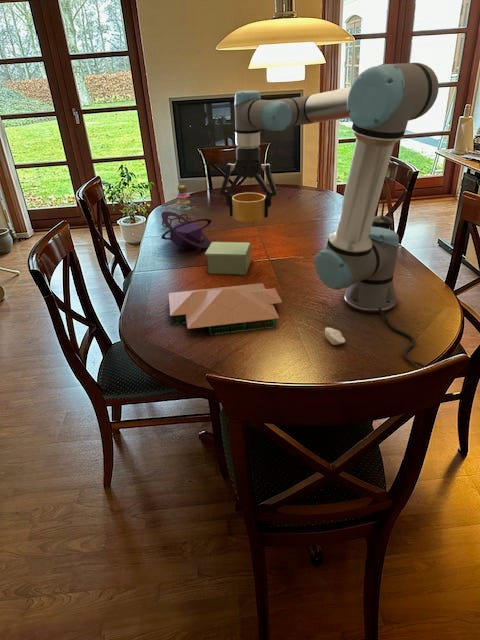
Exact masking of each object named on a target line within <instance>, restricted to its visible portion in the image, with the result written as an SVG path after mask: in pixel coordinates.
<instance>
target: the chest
mask: <svg viewBox="0 0 480 640" xmlns="http://www.w3.org/2000/svg"><path fill="white" fill-rule="evenodd" d="M206 258H207V269H208V274H214V275H215V274H217V275H218V274H219V275H220V274H221V275H244V276H245V275H247V273H248V270H249V267H250V265H251V261H252V259H251V258H252V257H251V245H250V246H249V249H248V251H247V254H246V257H237V256H207V257H206Z"/></svg>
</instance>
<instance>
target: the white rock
mask: <svg viewBox="0 0 480 640" xmlns="http://www.w3.org/2000/svg"><path fill="white" fill-rule="evenodd" d="M324 335H325V338H326V339H327V341H328V342H329V343H330V344H331V345H333V346H339V345H342V344H345V343H346V339H345V338H344V336H343V335H342V332H341V331H340V330H339V329H336V328H333V327H329V326H327V327H325V328H324Z"/></svg>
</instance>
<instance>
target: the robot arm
mask: <svg viewBox="0 0 480 640" xmlns="http://www.w3.org/2000/svg"><path fill="white" fill-rule="evenodd" d="M439 89H440V85H439V80H438V76H437V75H436V73H435V71H434V69H432V68H431V67H430V66H428V65H427V64H424V63H421V62H408V63H407V62H406V63H381V64H379V65H374V66H371V67H368V68H366V69H365V70H363V71H362V72H361V73H360V74H358V76H356V78H355V79H354V80H353V83H352V84H351V86H348V87H344V88H339V89H334V90H329V91H325V92H318V93H314V94H309V95H304V96H297V97H289V98H278V99H261V93H260V91H259V90H253V89H252V90H250V89H249V90H238V91H236V93H235V94H234V107H233V108H234V127H235V128H234V129H235V132H234V134H235V146H236V148H235V163H231V162H228V163H227V164H226V166H225V167H226V169H225V171H226V172H225V176H224V178H223V182H222V185H221V188H220V192H219V194H220V195H223V196H225V203H226V206H227V207H228V208H229V217H232V197H233V196H234V195H233V194H232V192H233V190H234V189H235V188H236V185H237V184H238V183H239V181H240V179H241V178H243V179H247V178H249V179H253V178H254V179H255V181H256V182H257V183H258V185H259V186H260V188H261V189H262V191H263V193H264V195H265V218H268V216H269V208H270V207H272V197H274V196H277V194H278V189H277V187H276V184H275V181H274V177H273V175H272V172H271V164H270V163H269V162H268V163H261V147H260V145H261V129H262V130H268V131H272V132H276V131H277V132H281V131H284V130H286V129H287V128H289V127H294V126H303V125H310V124H316V123H317V124H318V123H324V122H331V121H339V120H346V119H350V121H351V122H352V126H351V131H352V133H353V134H354V136H355V138H356V139H355V143H354V148H353V153H352V157H351V161H350V166H349V171H348V173H347V174H348V175H347V180H346V184H345V188H344V192H343V198H342V201H341V207H340V211H339V215H338V219H337V225H336V229H335V230H333V231H332V232H330V233H329V235H328V239H327V243H326V247H325V249H324V248H323V249H322V250H320V251H319V252H318V253H317V254H316V256H315V259H314V268H315V272H316V274H317V276H318V278H319V280H320V281H321V282H322V284H323V285H325V286H326V287H328V288H329V289H331V290H335V291H340V290H343V289H346V290H345V293H344V303H345V305H346V306H347V307H349V308H351V309H352V310H354V311H357V312H361V313H365V314H381V315H382V317H383V318H384V321H385V322H386V324H387V326H388V327H389V328H390V329H391V330H393V331H394V332H396V333H398V334H401V335H403V336H404V337H407V338H408V339H410V340H411V344H410V345H409V346H408V347H407V348H406V349H405V350H404V352H403V357H404V359H405V361H407V362H408V363H411V364H413V365H416V364H417V366H419V367H421V368H422V367H425V366H426V365H425V364H423V363H421V362H419V361H417V360H413V359H412V358H409V356H408V352H410V350H412V349H413V348H414V346H415V345H416V341H415V339H414V337H413V336H412V335H411V334H409V333H407V332H404V331H402V330H400V329H397V328H396V327H394V326H393V325H392V324H391V323H390V322H391V321H389V319H388V317H387V315H386V313H387V312H390V311H391V310H393V309H395V307H396V303H397V294H396V291H395V286H394V275H395V268H396V263H397V256H398V250H399V247H400V244H399V242H400V241H399V240H400V237H399V234H398V233H397V232H396V231H394V230H392V229H390V230H389V229H385V228H380V227H372V223H373V220H374V217H375V216H376V213H377V208H378V204H379V201H380V198H381V194H382V190H383V188H384V187H383V186H384V184H385V183H384V182H385V179H386V177H387V172H388V169H389V165H390V162H391V158H392V154H393V151H394V147H395V145H396V143H398V142H399V141H401V140H402V139H403V138H404V136H405V134H406V129H407V127H408V123H409V121H414V120H416V119H418V118H421V117H423V116H424V115H425V114H427V113H428V112H429V111H430V109H431V108H432V107H433V106H434V104H435V102H436V100H437V98H438V95H439ZM234 169H235V170H236V172H237V175H236V177H235V178H234V180H233V181H232V183H231V184H230V187H229V188H228V190H227V186H228V184H229V181H230V177H231V174H232V172H233V171H234ZM261 169H262V171H263V172H264V173H265V177H266V179H267V182H268V184H267V183H266V182H265V180H264V178H263V177H262V175H261V174H260V170H261ZM268 185H269V186H268ZM269 187H270V188H269ZM408 358H409V359H410V360H411V361H412V362H414V363H415V364H414V363H412V362H411V361H410V360H409V359H408Z"/></svg>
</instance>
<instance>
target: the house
mask: <svg viewBox="0 0 480 640" xmlns="http://www.w3.org/2000/svg"><path fill="white" fill-rule="evenodd" d="M168 298H169V299H168V303H169V316H170V317H172V319H173V320H179V319H181V320H182V321H183V319H185V322H184V321H183V324H186V328H187V330H191V329H201V328H208V329H209V334H210V335H212V330H213V331H215V330H216V333H215V335H221V334H227V333H229V331H227V332H226V331H221V330H220V329H218V327H220V326H222V329H228V325H230V326H232V328H233V329H234V328H236V330H233V331H232V333H236V332H245V331H247V323H248V326H254V327H253V328H251V329H250V328H249V331H252V330H256V328H255V327H256V323H255V322H258V325H261V321H262V322H263V321H265V324H267V323H268V326H266V329H270V328H271V329H272V326H269V324H271V321H272V324H273V326H274V328H276V327H277V321H276V320H277V319H280V316H279V314H278V313H277V310H276V308H275V305H279V304H283V301H282V299H281V297H280V295H279V293H278V292H277V289H276V288H266V287H265V285H264V283H263V282H261V283H249V284H241V285H232V286H223V287H222V286H221V287H212V288H203V289H193V290H184V291H183V290H182V291H175V292H174V291H173V292H168ZM177 316H179V318H178V317H177ZM181 316H184V317H181ZM175 317H176V318H175ZM266 321H267V322H266ZM175 322H176V321H173V324H174V325H177V324H179V322H176V323H175ZM235 324H236V325H235ZM237 324H239V327H243V328H244V329H241V330H240V329H239V330H238V329H237V327H238V325H237ZM226 325H227V326H226ZM223 326H224V327H223ZM211 327H212V328H211ZM214 327H215V328H214ZM260 329H263V327H259V328H258V330H260ZM217 330H218V331H219V332H217ZM220 331H221V332H220Z"/></svg>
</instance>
